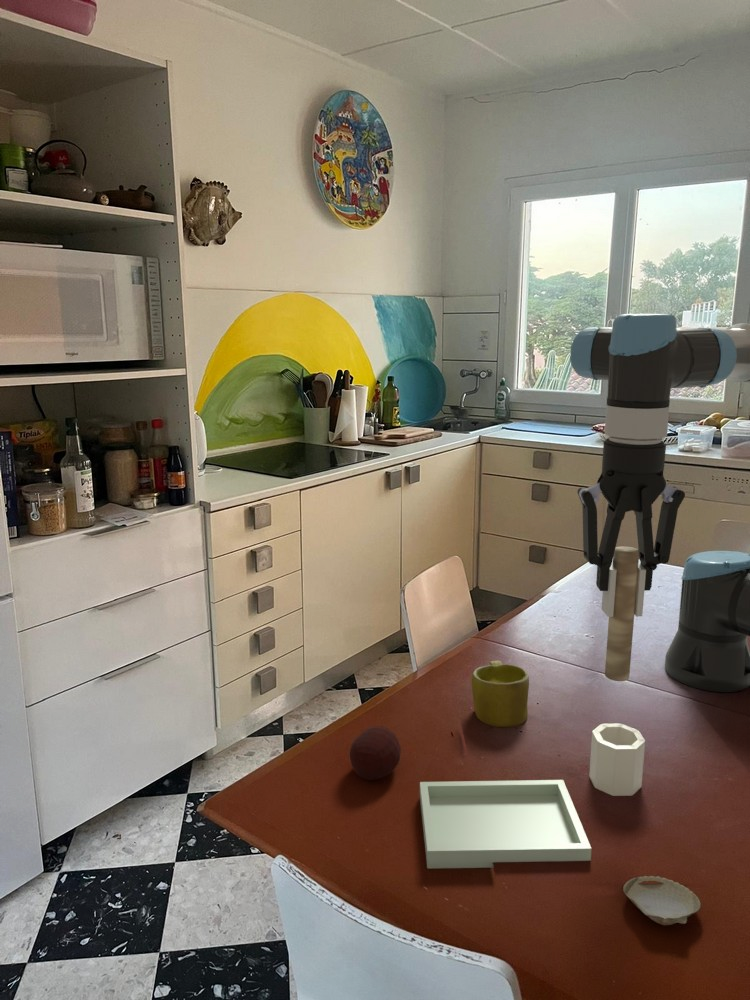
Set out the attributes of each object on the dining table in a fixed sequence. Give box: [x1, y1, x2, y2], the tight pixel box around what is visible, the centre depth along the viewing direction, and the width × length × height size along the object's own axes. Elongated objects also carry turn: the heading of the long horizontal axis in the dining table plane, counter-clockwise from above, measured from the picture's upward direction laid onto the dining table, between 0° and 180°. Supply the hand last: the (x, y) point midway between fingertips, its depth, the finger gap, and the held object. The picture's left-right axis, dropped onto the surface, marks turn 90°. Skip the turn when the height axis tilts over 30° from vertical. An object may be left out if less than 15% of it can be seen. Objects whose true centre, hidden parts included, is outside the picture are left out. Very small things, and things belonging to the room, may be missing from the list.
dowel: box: [604, 545, 640, 682], centre depth 103 cm, size 3×3×18 cm
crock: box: [588, 722, 646, 797], centre depth 109 cm, size 7×7×8 cm
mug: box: [471, 660, 530, 728], centre depth 128 cm, size 12×10×10 cm
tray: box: [419, 779, 593, 870], centre depth 100 cm, size 20×14×2 cm
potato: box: [349, 725, 402, 781], centre depth 113 cm, size 7×10×6 cm
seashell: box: [622, 875, 702, 926], centre depth 87 cm, size 8×3×8 cm
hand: (621, 612), depth 103 cm, fingers closed on dowel, 3 cm apart
